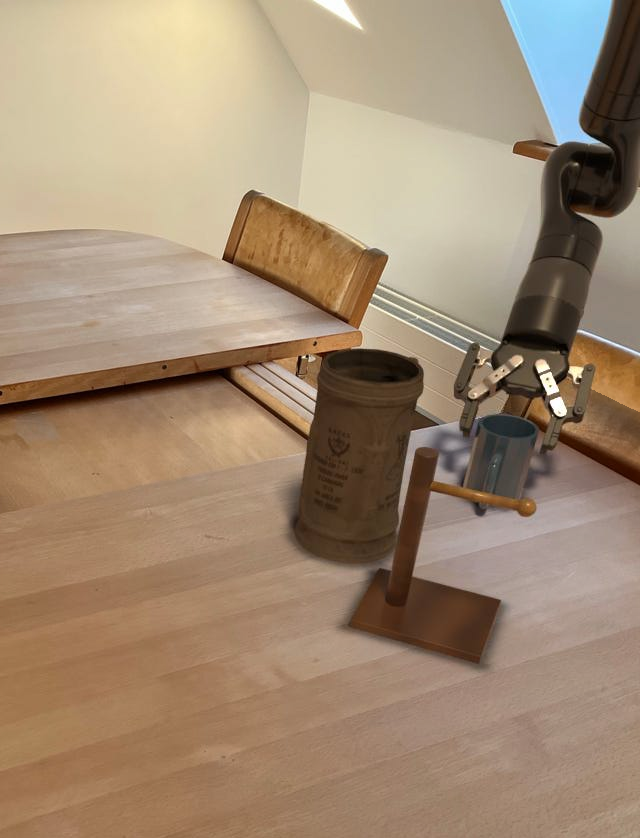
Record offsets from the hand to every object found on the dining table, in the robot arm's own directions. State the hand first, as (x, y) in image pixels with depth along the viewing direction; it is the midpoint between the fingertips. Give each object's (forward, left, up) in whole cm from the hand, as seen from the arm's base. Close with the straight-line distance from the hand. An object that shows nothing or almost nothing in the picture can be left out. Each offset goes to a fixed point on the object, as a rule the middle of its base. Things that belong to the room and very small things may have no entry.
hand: (504, 443), depth 108 cm
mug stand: (+1, +28, -7) cm, 29 cm away
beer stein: (+12, +15, -7) cm, 21 cm away
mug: (0, +2, -7) cm, 7 cm away
